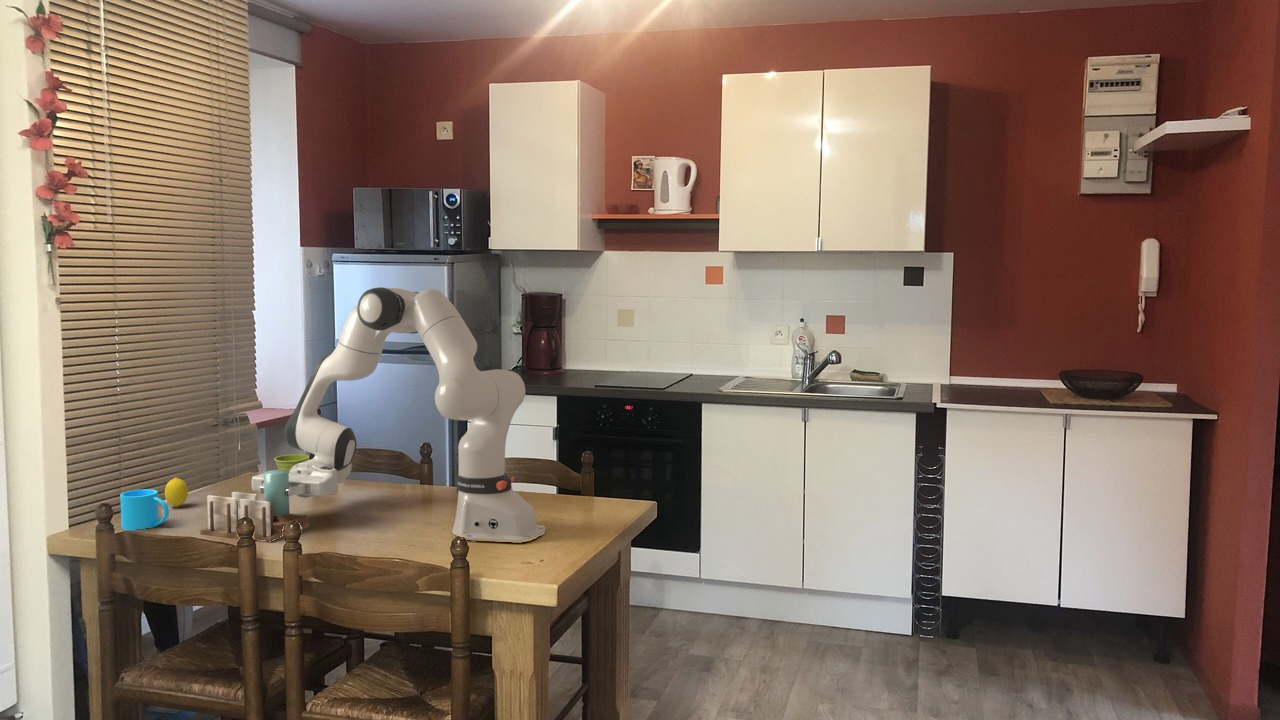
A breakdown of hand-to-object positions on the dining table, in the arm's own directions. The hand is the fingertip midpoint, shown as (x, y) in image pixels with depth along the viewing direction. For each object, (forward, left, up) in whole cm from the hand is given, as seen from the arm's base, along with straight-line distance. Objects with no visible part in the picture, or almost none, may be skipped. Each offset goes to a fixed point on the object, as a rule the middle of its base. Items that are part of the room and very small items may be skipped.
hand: (274, 491), depth 241 cm
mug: (+32, +7, -10) cm, 34 cm away
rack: (+5, +1, -10) cm, 11 cm away
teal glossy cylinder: (0, -1, -5) cm, 6 cm away
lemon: (+39, -10, -10) cm, 41 cm away
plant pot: (+26, -40, -10) cm, 49 cm away
